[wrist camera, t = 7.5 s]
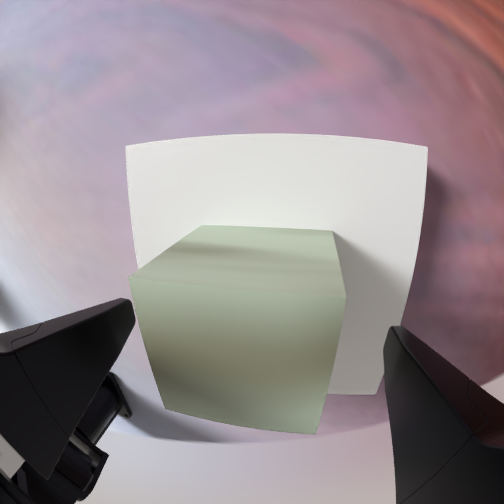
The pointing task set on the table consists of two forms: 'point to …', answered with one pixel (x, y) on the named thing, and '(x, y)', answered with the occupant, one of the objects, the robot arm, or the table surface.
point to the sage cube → (243, 324)
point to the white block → (297, 216)
